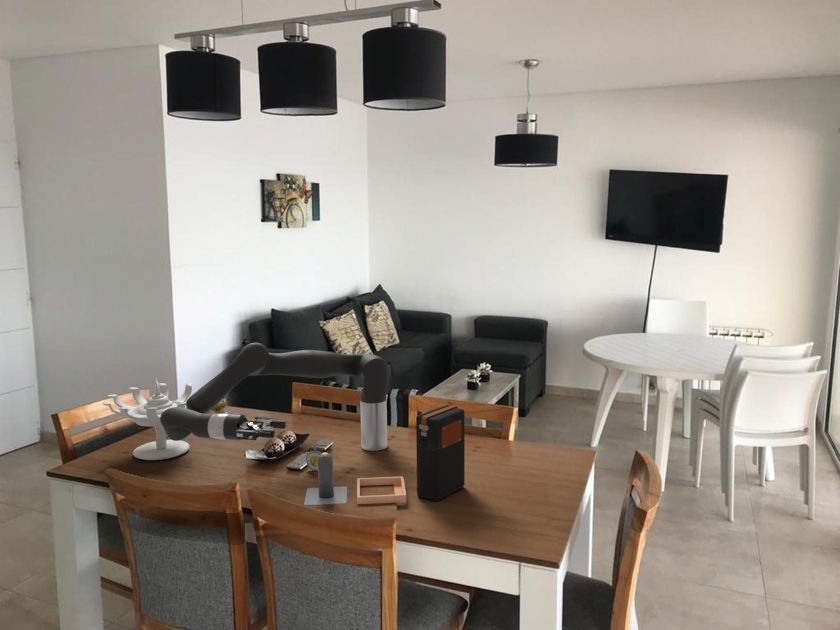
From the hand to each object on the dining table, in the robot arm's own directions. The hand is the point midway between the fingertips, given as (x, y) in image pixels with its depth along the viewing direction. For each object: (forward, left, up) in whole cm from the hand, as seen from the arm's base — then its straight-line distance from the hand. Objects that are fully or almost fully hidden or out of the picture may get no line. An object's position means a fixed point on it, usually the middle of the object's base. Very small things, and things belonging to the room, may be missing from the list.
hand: (280, 429), depth 197 cm
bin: (+2, +29, -21) cm, 36 cm away
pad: (+2, +13, -21) cm, 25 cm away
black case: (+1, +47, -21) cm, 51 cm away
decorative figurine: (-71, -33, -21) cm, 81 cm away
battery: (+2, +13, -20) cm, 24 cm away
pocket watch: (-16, +8, -21) cm, 28 cm away
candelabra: (-44, -47, -21) cm, 68 cm away
